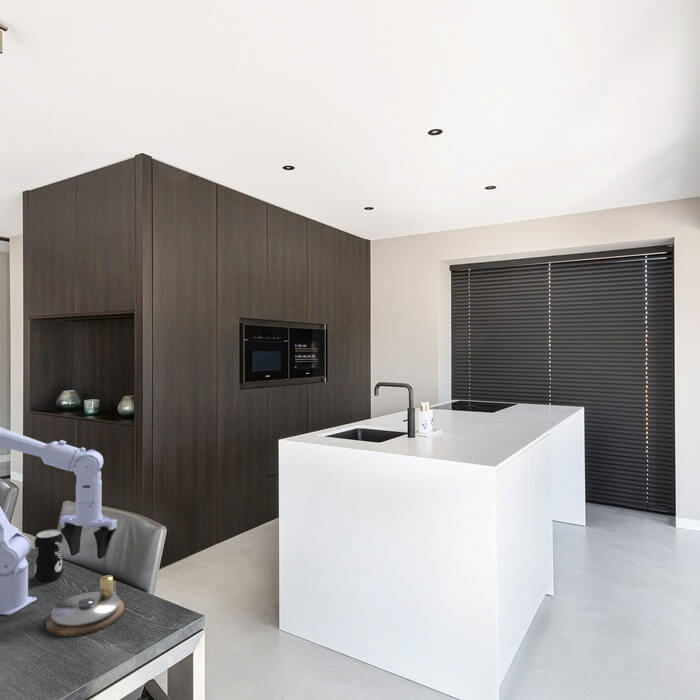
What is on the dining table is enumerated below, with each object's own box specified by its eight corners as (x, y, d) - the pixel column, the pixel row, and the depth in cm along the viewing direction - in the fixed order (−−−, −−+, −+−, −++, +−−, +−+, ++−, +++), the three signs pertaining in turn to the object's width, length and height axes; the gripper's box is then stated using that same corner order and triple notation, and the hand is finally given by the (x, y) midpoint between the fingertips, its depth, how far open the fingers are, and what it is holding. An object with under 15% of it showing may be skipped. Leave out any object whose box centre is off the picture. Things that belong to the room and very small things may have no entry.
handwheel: (76, 634, 110) (76, 607, 110) (37, 616, 117) (37, 591, 117) (132, 605, 123) (132, 581, 122) (94, 591, 129) (94, 568, 129)
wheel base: (28, 630, 114) (28, 612, 114) (85, 593, 131) (85, 577, 131) (91, 640, 110) (92, 621, 110) (142, 600, 127) (142, 584, 127)
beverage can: (49, 584, 136) (50, 538, 136) (28, 581, 137) (28, 536, 137) (68, 573, 142) (68, 529, 142) (47, 571, 143) (47, 528, 143)
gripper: (124, 498, 131) (124, 552, 131) (75, 494, 134) (75, 546, 134) (106, 506, 124) (105, 563, 124) (54, 502, 127) (54, 557, 127)
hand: (88, 555), depth 129 cm, fingers open, 7 cm apart
